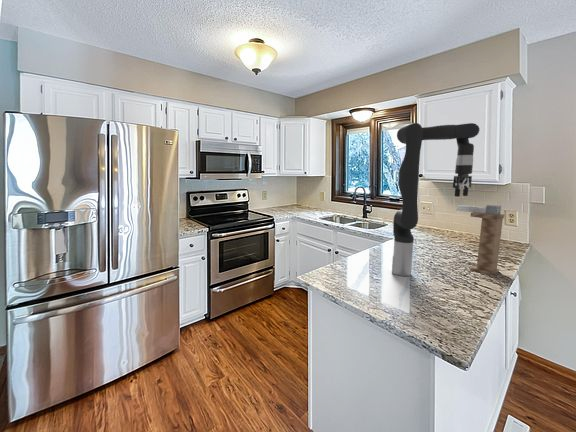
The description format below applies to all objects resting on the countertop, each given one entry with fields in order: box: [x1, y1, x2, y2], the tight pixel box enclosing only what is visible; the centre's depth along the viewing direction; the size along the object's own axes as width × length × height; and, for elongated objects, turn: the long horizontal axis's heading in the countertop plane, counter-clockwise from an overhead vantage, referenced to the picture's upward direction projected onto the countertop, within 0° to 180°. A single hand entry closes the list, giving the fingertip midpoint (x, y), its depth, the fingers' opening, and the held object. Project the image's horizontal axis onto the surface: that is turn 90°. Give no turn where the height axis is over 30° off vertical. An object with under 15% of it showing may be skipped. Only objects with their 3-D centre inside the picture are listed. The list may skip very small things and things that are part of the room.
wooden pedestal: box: [469, 212, 505, 276], centre depth 158 cm, size 12×10×31 cm
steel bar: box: [455, 204, 502, 215], centre depth 159 cm, size 20×5×4 cm, turn 36°
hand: (461, 196), depth 152 cm, fingers open, 8 cm apart
